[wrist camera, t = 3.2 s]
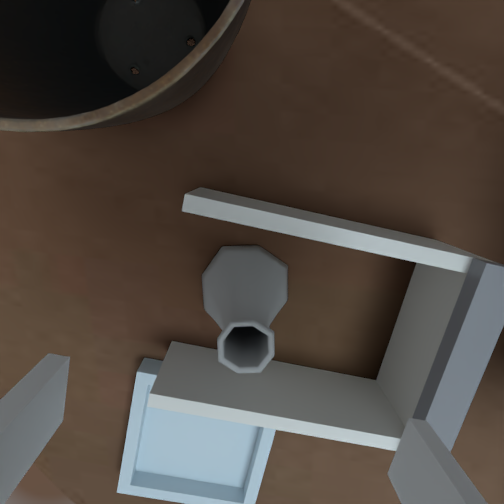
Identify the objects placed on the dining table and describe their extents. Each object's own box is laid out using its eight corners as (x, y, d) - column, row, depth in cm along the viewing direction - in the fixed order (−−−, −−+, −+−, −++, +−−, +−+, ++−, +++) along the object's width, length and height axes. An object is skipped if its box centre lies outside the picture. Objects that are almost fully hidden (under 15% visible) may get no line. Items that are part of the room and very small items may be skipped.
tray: (144, 357, 30) (136, 371, 27) (281, 383, 30) (284, 398, 28) (125, 471, 32) (116, 492, 30) (251, 492, 33) (252, 514, 31)
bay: (200, 187, 26) (181, 195, 18) (445, 242, 28) (526, 271, 20) (169, 351, 29) (141, 419, 21) (391, 393, 31) (441, 472, 23)
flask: (274, 336, 29) (289, 420, 20) (190, 314, 29) (163, 389, 19) (302, 257, 28) (332, 305, 18) (214, 231, 27) (197, 266, 17)
